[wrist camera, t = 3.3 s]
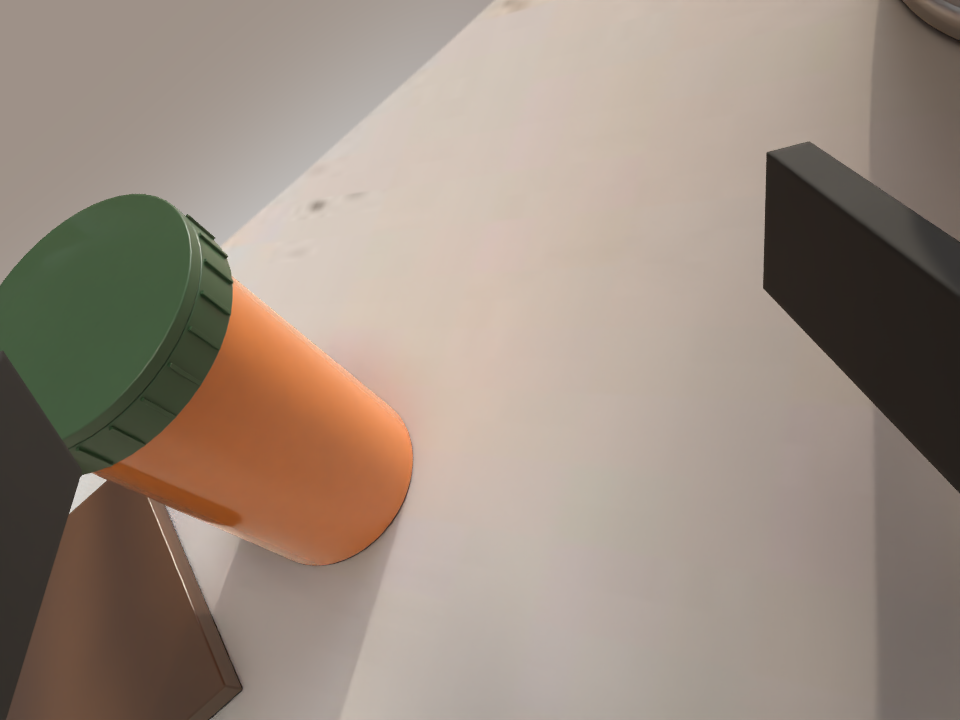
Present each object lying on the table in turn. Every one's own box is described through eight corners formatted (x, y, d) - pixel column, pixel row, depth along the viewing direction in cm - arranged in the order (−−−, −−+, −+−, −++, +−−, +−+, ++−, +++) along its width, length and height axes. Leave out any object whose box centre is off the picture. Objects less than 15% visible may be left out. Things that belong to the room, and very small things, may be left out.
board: (148, 465, 37) (131, 457, 36) (243, 689, 29) (224, 685, 29) (-118, 702, 37) (-140, 700, 36) (-89, 985, 29) (-116, 990, 29)
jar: (307, 381, 35) (77, 208, 25) (441, 414, 31) (232, 227, 22) (232, 536, 33) (-53, 413, 23) (366, 590, 29) (96, 472, 19)
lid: (106, 216, 27) (63, 184, 25) (282, 238, 22) (242, 201, 21) (-33, 441, 24) (-89, 418, 23) (136, 513, 20) (81, 490, 19)
